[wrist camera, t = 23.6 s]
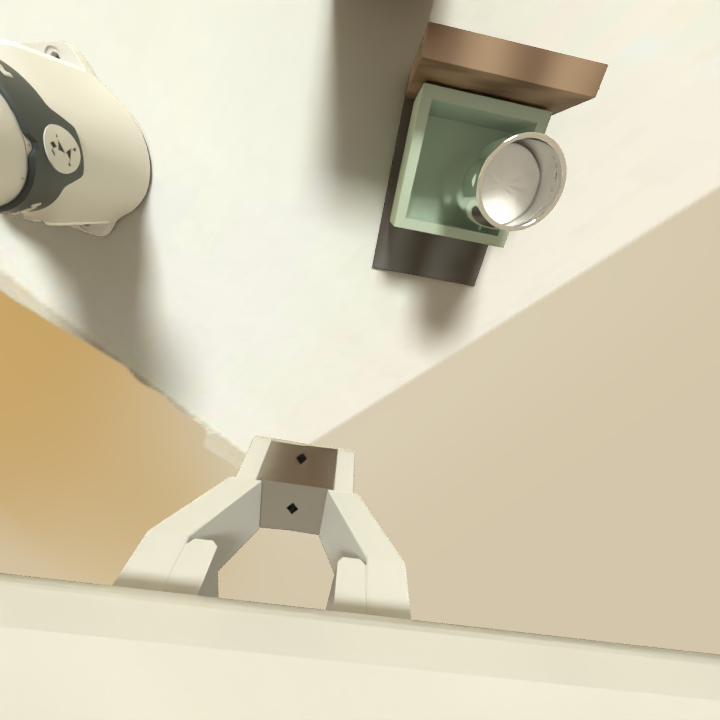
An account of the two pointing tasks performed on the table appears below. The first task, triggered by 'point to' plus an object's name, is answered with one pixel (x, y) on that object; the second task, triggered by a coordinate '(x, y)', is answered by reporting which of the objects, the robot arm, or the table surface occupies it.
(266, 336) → the table surface
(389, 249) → the box
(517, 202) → the beer glass
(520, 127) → the sage green storage bin
